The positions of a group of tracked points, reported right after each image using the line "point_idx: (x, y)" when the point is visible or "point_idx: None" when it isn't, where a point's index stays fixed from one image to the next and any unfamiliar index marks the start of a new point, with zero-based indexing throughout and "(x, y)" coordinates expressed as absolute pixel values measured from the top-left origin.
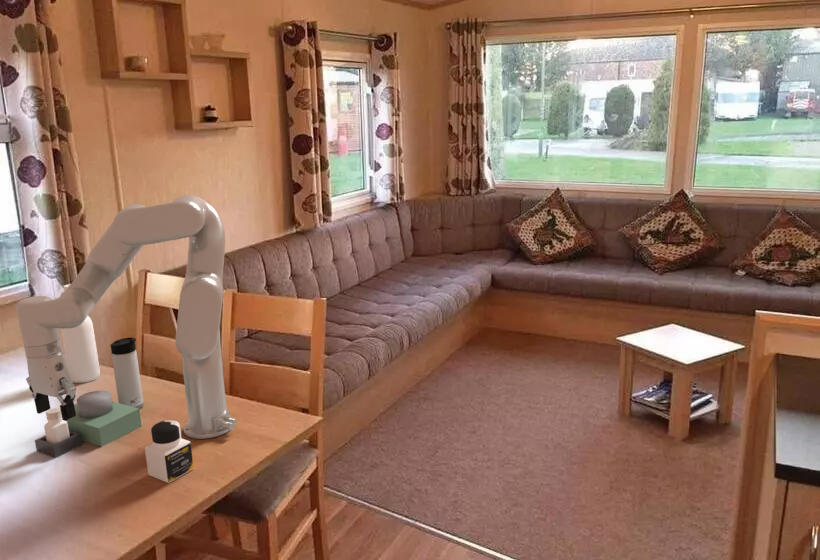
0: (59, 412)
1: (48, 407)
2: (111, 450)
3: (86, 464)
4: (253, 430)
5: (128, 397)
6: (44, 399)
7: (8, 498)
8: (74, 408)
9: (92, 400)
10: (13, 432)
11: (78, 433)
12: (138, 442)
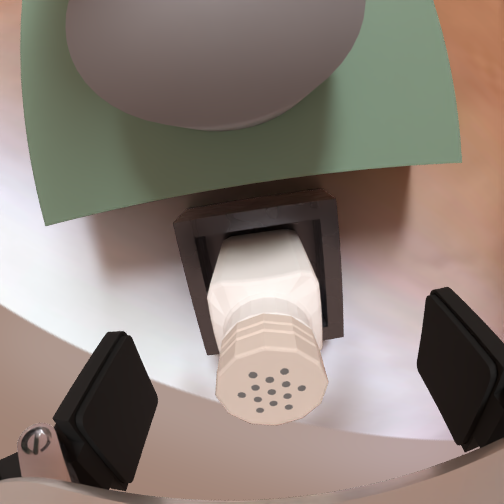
0: (319, 360)
1: (130, 354)
2: (462, 154)
3: (464, 263)
4: None
5: None
6: (110, 426)
7: (403, 435)
8: (475, 317)
9: (280, 21)
10: (12, 295)
11: (324, 204)
12: (481, 67)
